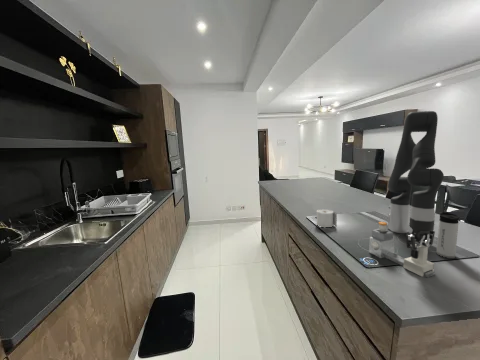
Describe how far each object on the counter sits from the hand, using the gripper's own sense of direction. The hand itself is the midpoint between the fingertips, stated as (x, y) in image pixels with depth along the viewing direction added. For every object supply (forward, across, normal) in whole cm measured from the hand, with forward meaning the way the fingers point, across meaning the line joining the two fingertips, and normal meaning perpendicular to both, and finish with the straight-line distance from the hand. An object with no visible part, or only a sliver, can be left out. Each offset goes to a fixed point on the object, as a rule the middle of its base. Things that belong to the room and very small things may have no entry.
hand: (419, 256), depth 86 cm
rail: (+6, 0, -4) cm, 8 cm away
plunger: (-5, 0, -16) cm, 17 cm away
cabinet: (+6, 0, -16) cm, 17 cm away
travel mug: (+7, -24, -3) cm, 25 cm away
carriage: (+6, 0, 0) cm, 6 cm away
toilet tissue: (+7, -2, -57) cm, 57 cm away
